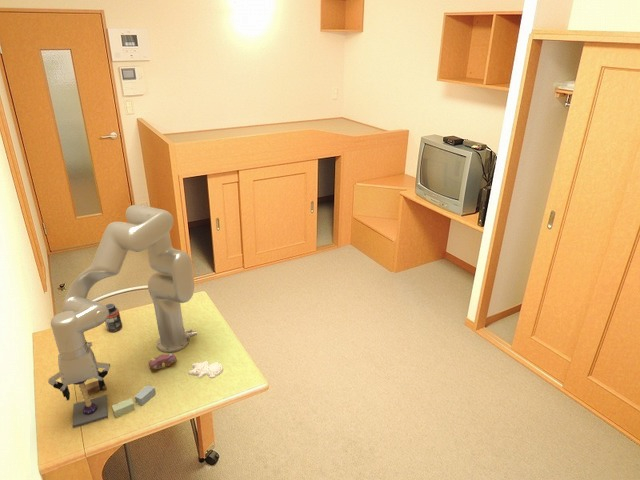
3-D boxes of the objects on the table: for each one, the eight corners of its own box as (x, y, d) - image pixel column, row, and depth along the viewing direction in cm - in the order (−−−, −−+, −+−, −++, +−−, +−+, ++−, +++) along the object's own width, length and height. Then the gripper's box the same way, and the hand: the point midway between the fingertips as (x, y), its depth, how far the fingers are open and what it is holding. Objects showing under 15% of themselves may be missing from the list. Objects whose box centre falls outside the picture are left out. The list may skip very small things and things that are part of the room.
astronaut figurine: (195, 361, 168) (195, 355, 167) (226, 365, 167) (225, 358, 166) (186, 377, 161) (185, 371, 159) (218, 381, 159) (217, 375, 158)
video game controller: (150, 374, 164) (149, 366, 158) (148, 363, 166) (146, 355, 161) (177, 366, 168) (177, 358, 163) (174, 355, 170) (174, 347, 165)
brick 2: (132, 404, 148) (131, 397, 147) (135, 410, 146) (133, 403, 145) (113, 412, 145) (111, 405, 144) (115, 418, 143) (114, 411, 142)
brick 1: (105, 384, 157) (103, 378, 155) (106, 389, 154) (105, 383, 153) (86, 391, 154) (84, 385, 152) (88, 396, 151) (86, 390, 150)
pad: (106, 397, 151) (106, 394, 151) (107, 417, 143) (107, 415, 142) (74, 406, 147) (73, 403, 147) (73, 428, 139) (72, 425, 139)
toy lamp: (80, 417, 142) (68, 376, 135) (81, 406, 146) (69, 367, 139) (97, 412, 144) (86, 372, 137) (97, 402, 147) (86, 362, 140)
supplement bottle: (112, 323, 189) (107, 301, 185) (125, 325, 189) (120, 302, 184) (104, 332, 184) (98, 309, 179) (117, 333, 183) (112, 310, 179)
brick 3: (149, 391, 154) (148, 384, 153) (155, 394, 153) (154, 387, 152) (135, 403, 149) (134, 396, 148) (142, 406, 148) (140, 399, 147)
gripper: (104, 335, 141) (114, 377, 148) (41, 350, 134) (55, 393, 141) (104, 349, 135) (115, 392, 142) (39, 365, 128) (53, 409, 135)
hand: (85, 392), depth 142 cm, fingers open, 9 cm apart
